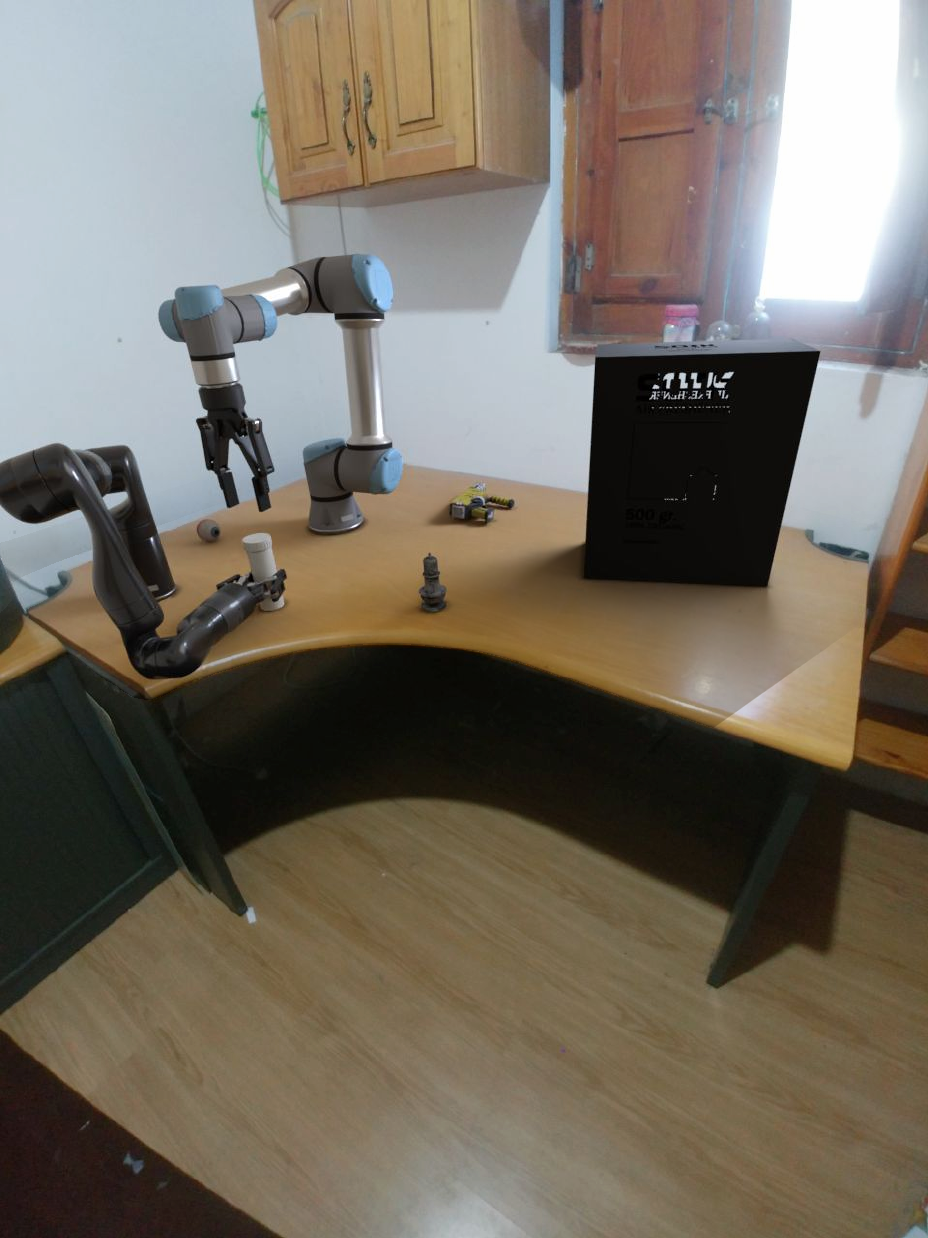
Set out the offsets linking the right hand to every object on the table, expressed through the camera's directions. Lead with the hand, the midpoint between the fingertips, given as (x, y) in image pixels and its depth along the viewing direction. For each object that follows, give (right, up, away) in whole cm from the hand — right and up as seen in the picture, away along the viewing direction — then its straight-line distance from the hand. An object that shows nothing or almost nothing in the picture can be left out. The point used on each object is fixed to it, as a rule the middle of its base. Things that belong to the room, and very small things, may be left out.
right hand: (249, 507), depth 118 cm
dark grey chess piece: (+36, -19, +7) cm, 41 cm away
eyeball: (-26, -1, +45) cm, 52 cm away
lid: (0, -6, +3) cm, 7 cm away
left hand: (+1, -12, +10) cm, 16 cm away
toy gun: (+49, +10, +56) cm, 75 cm away
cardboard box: (+89, -9, +19) cm, 92 cm away
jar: (+1, -19, +11) cm, 22 cm away
